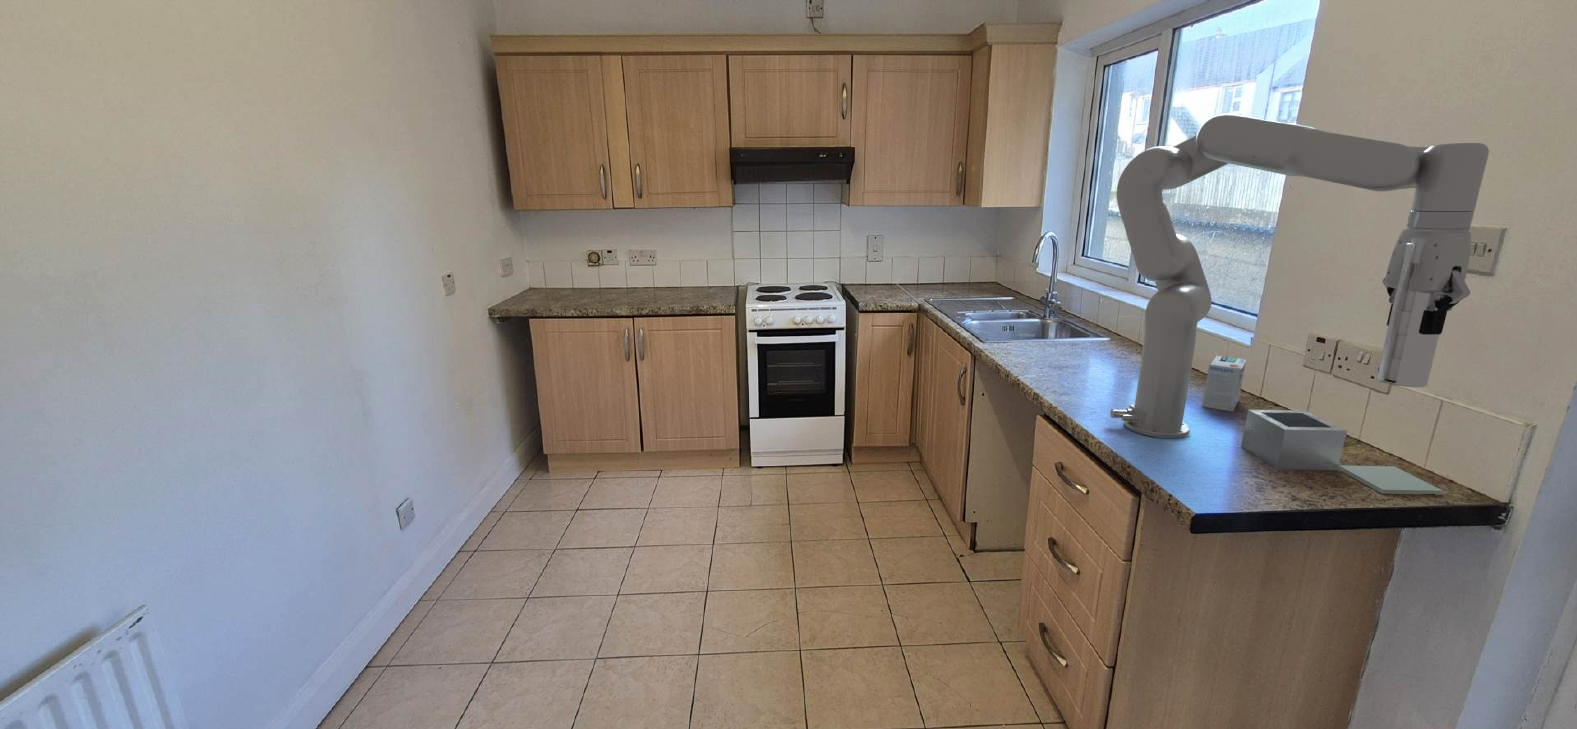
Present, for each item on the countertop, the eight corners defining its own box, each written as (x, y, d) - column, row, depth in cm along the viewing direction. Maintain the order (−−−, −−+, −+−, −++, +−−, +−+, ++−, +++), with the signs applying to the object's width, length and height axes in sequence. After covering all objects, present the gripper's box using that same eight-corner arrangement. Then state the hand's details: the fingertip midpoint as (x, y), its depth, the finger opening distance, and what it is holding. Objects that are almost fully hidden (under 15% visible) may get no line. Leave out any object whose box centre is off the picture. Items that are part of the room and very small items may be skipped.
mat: (1381, 493, 113) (1382, 489, 113) (1338, 469, 123) (1338, 465, 123) (1441, 494, 113) (1443, 490, 112) (1393, 470, 122) (1394, 466, 122)
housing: (1276, 469, 123) (1285, 429, 121) (1240, 446, 134) (1248, 409, 131) (1337, 470, 122) (1347, 430, 120) (1296, 447, 133) (1304, 410, 131)
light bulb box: (1207, 395, 165) (1214, 354, 163) (1239, 400, 161) (1247, 359, 158) (1200, 406, 157) (1208, 363, 155) (1234, 412, 153) (1242, 368, 150)
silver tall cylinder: (1437, 388, 110) (1473, 238, 104) (1392, 386, 112) (1426, 238, 105) (1410, 377, 116) (1443, 235, 110) (1368, 376, 118) (1398, 235, 111)
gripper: (1372, 220, 115) (1351, 320, 120) (1464, 225, 99) (1435, 341, 103) (1416, 219, 115) (1393, 320, 120) (1516, 224, 98) (1485, 341, 103)
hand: (1413, 329), depth 112 cm, fingers closed on silver tall cylinder, 5 cm apart
